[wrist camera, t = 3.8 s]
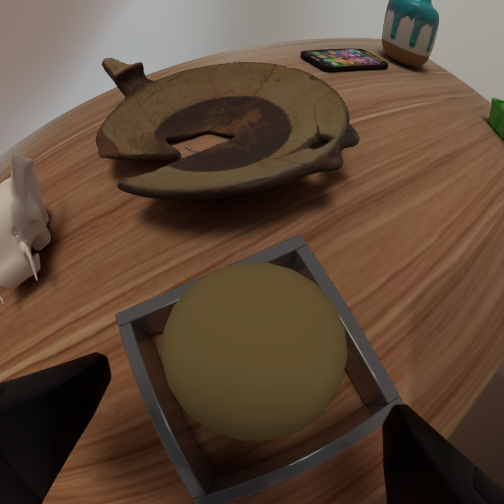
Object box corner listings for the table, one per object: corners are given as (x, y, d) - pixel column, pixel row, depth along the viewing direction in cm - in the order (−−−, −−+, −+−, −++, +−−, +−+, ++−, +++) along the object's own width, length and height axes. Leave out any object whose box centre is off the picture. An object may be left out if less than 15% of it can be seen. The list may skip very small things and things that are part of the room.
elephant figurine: (5, 328, 17) (-67, 284, 9) (-1, 233, 22) (-46, 184, 14) (79, 278, 19) (10, 210, 11) (60, 188, 24) (21, 125, 16)
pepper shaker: (213, 431, 14) (143, 473, 5) (199, 336, 17) (128, 245, 7) (314, 414, 14) (403, 427, 5) (295, 321, 17) (339, 214, 8)
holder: (380, 408, 14) (406, 407, 11) (210, 492, 12) (199, 511, 9) (294, 261, 20) (300, 233, 17) (137, 330, 17) (114, 313, 14)
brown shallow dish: (169, 303, 18) (123, 243, 11) (89, 118, 31) (71, 74, 24) (390, 173, 24) (417, 108, 17) (229, 63, 37) (226, 20, 30)
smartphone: (297, 51, 37) (361, 48, 40) (297, 55, 38) (360, 52, 41) (327, 67, 34) (391, 65, 37) (326, 73, 35) (390, 69, 38)
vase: (368, 49, 43) (380, -28, 27) (406, 55, 44) (421, -13, 28) (396, 70, 38) (415, -18, 22) (435, 77, 39) (456, 1, 22)
